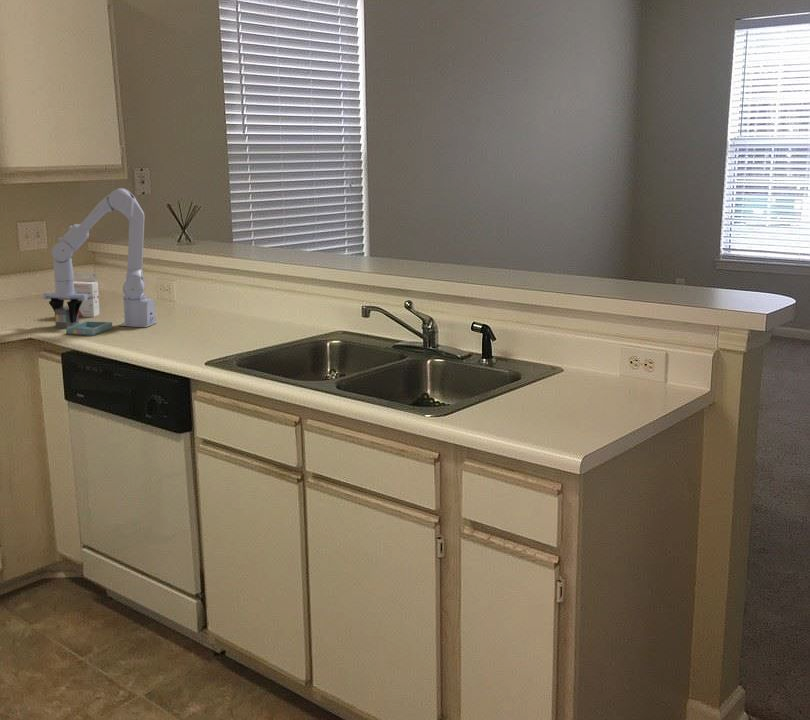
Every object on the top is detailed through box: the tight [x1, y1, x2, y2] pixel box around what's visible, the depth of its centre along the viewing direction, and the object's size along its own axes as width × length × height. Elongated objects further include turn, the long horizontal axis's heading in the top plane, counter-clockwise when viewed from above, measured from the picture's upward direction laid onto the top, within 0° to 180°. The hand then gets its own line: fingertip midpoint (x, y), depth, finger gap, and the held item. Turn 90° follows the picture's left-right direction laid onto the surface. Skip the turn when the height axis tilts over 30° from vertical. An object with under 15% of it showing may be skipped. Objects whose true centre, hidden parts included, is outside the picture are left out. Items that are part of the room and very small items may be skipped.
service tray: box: [65, 320, 113, 337], centre depth 288 cm, size 9×12×2 cm
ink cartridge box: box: [69, 271, 100, 318], centre depth 312 cm, size 9×5×15 cm, turn 84°
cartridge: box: [54, 305, 80, 330], centre depth 295 cm, size 4×7×6 cm, turn 169°
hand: (67, 321), depth 295 cm, fingers closed on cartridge, 4 cm apart
